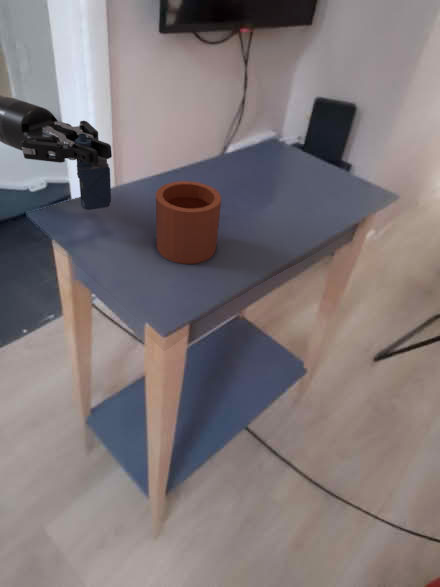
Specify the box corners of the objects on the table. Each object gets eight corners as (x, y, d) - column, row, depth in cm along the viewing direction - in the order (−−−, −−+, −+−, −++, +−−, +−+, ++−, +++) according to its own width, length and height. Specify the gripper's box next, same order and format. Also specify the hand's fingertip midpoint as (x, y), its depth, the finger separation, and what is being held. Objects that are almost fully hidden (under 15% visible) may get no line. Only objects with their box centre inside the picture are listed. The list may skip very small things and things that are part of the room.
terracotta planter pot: (196, 271, 65) (199, 219, 59) (144, 249, 68) (142, 197, 62) (226, 243, 72) (232, 193, 66) (178, 224, 76) (179, 175, 69)
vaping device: (77, 204, 66) (71, 132, 59) (107, 200, 69) (104, 130, 62) (83, 211, 65) (77, 138, 57) (113, 206, 68) (111, 135, 60)
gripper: (-25, 110, 57) (64, 142, 52) (50, 93, 67) (131, 118, 61) (-10, 160, 62) (72, 194, 57) (57, 137, 71) (133, 164, 66)
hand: (102, 154), depth 59 cm, fingers closed on vaping device, 2 cm apart
